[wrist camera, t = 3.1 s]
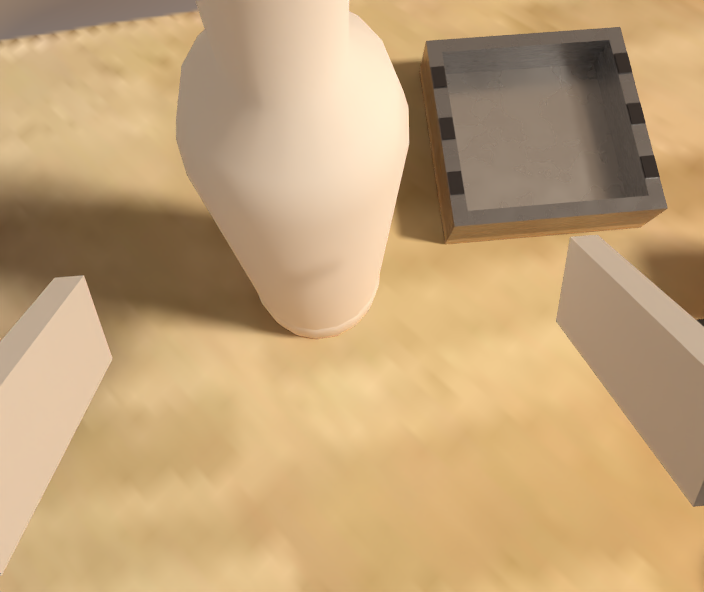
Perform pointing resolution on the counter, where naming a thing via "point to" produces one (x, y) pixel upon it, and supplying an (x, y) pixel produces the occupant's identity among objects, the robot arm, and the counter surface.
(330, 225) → the bottle
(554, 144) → the open square box
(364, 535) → the counter surface
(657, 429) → the robot arm
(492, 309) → the counter surface
